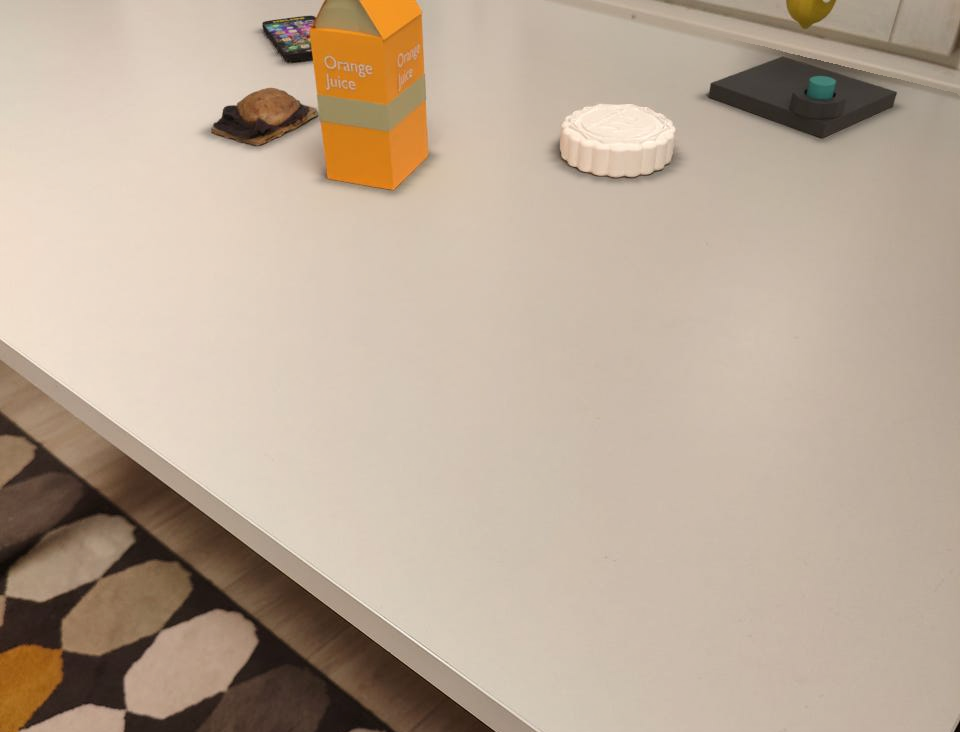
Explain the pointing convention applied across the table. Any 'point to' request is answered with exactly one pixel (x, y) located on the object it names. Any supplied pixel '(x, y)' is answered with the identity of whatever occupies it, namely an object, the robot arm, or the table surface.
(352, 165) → the orange juice
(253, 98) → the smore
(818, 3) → the lemon
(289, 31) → the smartphone
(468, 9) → the table surface
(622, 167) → the mooncake
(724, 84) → the push button box
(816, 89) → the button
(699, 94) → the table surface
